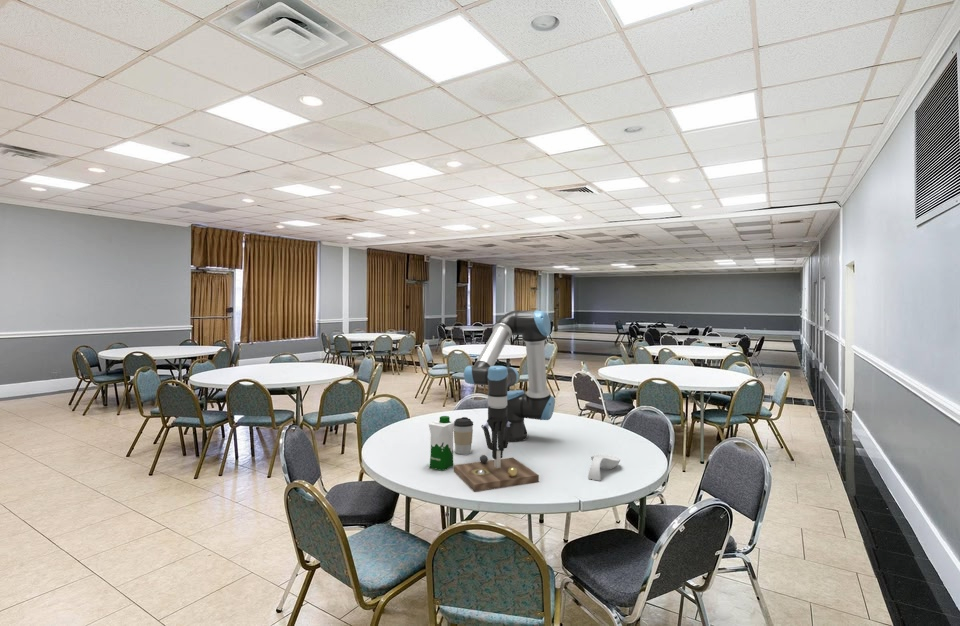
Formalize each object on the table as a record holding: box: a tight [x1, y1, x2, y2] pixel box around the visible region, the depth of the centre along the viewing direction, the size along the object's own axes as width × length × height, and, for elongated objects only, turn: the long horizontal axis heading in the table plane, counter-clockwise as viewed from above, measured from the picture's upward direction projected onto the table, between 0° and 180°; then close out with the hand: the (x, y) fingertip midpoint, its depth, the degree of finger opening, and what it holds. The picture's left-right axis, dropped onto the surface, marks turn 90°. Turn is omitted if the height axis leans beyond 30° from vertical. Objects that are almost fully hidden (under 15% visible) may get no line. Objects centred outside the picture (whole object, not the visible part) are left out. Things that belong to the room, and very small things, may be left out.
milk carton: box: [428, 415, 454, 471], centre depth 195 cm, size 9×9×20 cm
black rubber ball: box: [479, 454, 489, 463], centre depth 193 cm, size 3×3×3 cm
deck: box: [453, 457, 540, 492], centre depth 185 cm, size 26×22×2 cm
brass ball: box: [508, 467, 517, 477], centre depth 178 cm, size 4×4×4 cm
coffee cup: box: [453, 416, 474, 455], centre depth 215 cm, size 9×9×15 cm
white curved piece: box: [587, 454, 621, 482], centre depth 192 cm, size 24×12×7 cm, turn 153°
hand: (497, 466), depth 185 cm, fingers closed
